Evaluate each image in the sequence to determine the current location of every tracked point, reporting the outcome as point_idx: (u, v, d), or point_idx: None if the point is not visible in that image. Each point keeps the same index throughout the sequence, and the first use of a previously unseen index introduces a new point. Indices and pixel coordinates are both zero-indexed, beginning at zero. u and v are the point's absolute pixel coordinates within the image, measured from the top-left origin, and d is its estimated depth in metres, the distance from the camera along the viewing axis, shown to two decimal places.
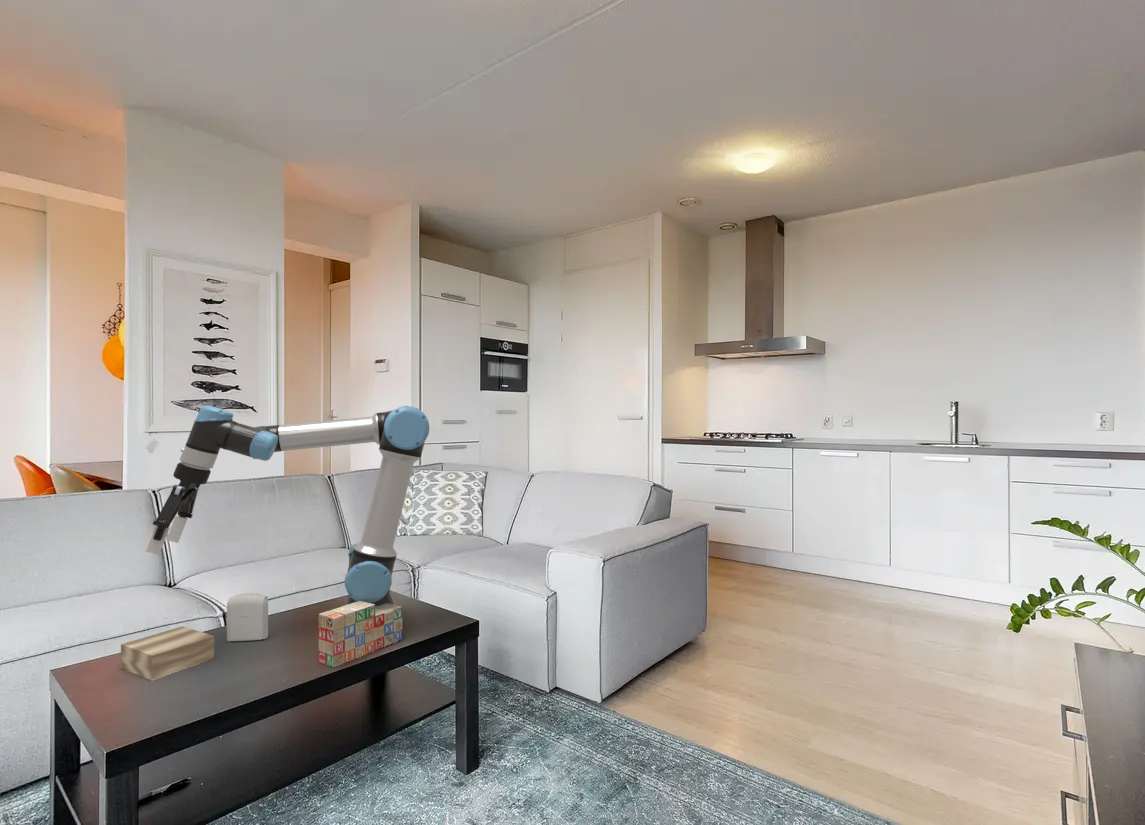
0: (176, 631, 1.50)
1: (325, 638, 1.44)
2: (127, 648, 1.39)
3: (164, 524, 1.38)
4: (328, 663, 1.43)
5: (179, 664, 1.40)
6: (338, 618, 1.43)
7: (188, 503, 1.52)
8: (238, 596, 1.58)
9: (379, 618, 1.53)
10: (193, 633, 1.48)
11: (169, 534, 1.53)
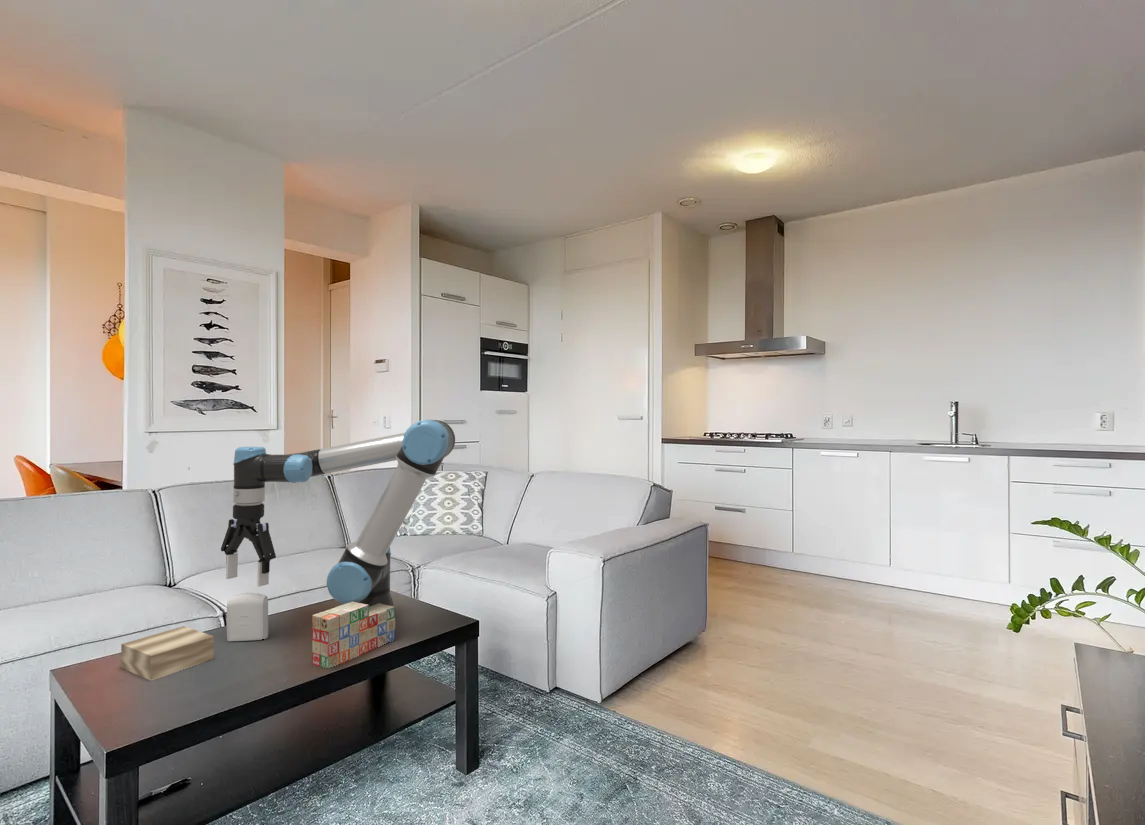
0: (177, 631, 1.50)
1: (319, 639, 1.43)
2: (127, 647, 1.40)
3: (274, 556, 1.56)
4: (322, 664, 1.42)
5: (179, 665, 1.39)
6: (333, 619, 1.42)
7: (242, 539, 1.62)
8: (238, 596, 1.58)
9: (373, 619, 1.53)
10: (193, 633, 1.48)
11: (228, 573, 1.62)
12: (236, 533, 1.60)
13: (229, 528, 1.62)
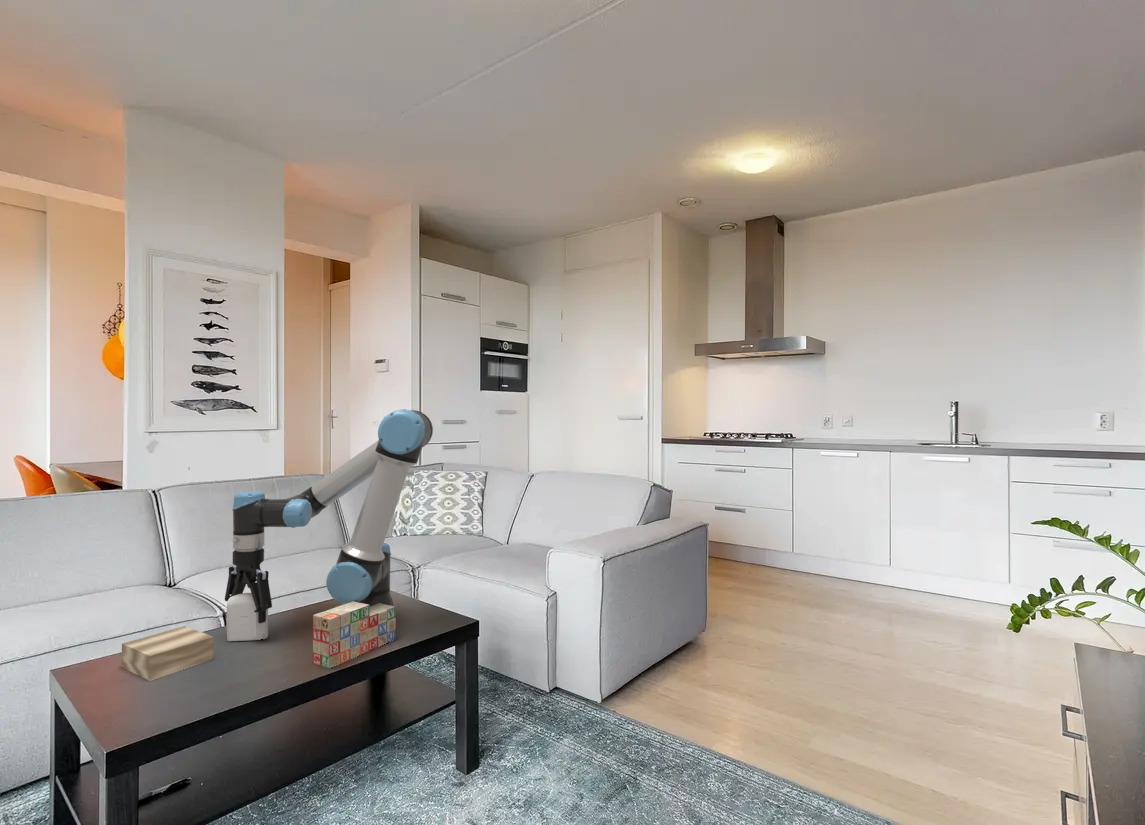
0: (177, 630, 1.50)
1: (319, 639, 1.43)
2: (127, 647, 1.40)
3: (270, 606, 1.56)
4: (323, 664, 1.42)
5: (178, 665, 1.39)
6: (334, 619, 1.42)
7: (244, 585, 1.62)
8: (238, 596, 1.58)
9: (373, 619, 1.53)
10: (193, 633, 1.48)
11: None
12: (237, 580, 1.59)
13: (230, 576, 1.61)
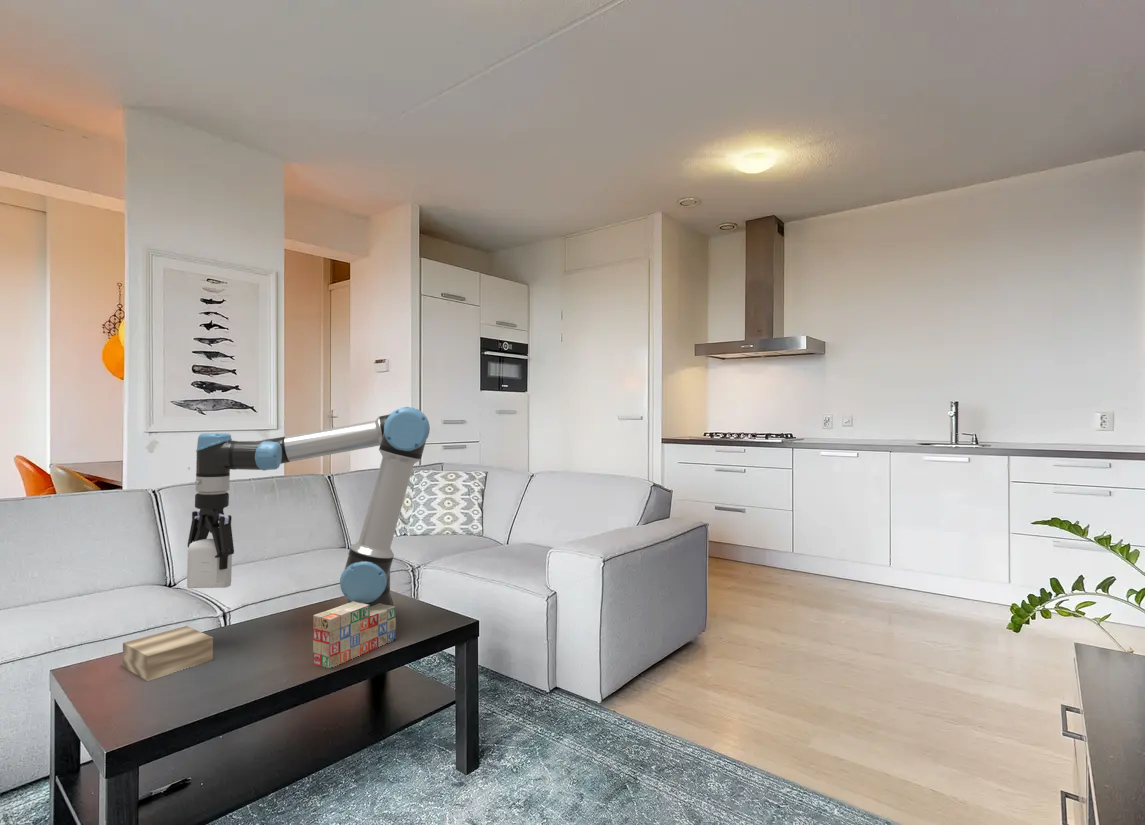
0: (179, 630, 1.50)
1: (320, 639, 1.43)
2: (128, 647, 1.40)
3: (232, 552, 1.49)
4: (323, 664, 1.42)
5: (176, 665, 1.39)
6: (334, 619, 1.42)
7: (208, 531, 1.55)
8: (200, 541, 1.51)
9: (374, 619, 1.53)
10: (193, 633, 1.48)
11: None
12: (199, 524, 1.52)
13: (193, 521, 1.54)
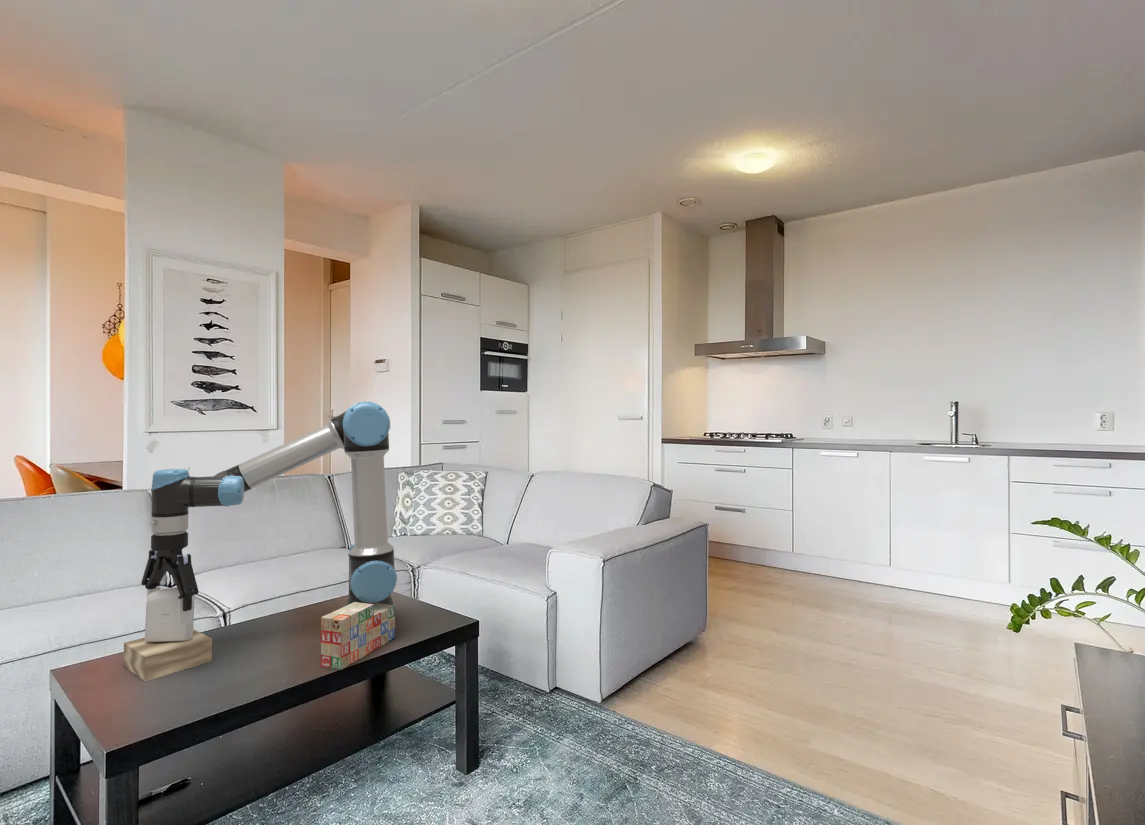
0: None
1: (329, 641, 1.42)
2: (128, 647, 1.40)
3: (196, 592, 1.40)
4: (334, 666, 1.41)
5: (174, 667, 1.39)
6: (345, 619, 1.42)
7: (164, 571, 1.47)
8: (160, 591, 1.43)
9: (377, 618, 1.54)
10: (194, 634, 1.48)
11: None
12: (156, 566, 1.44)
13: (149, 560, 1.46)
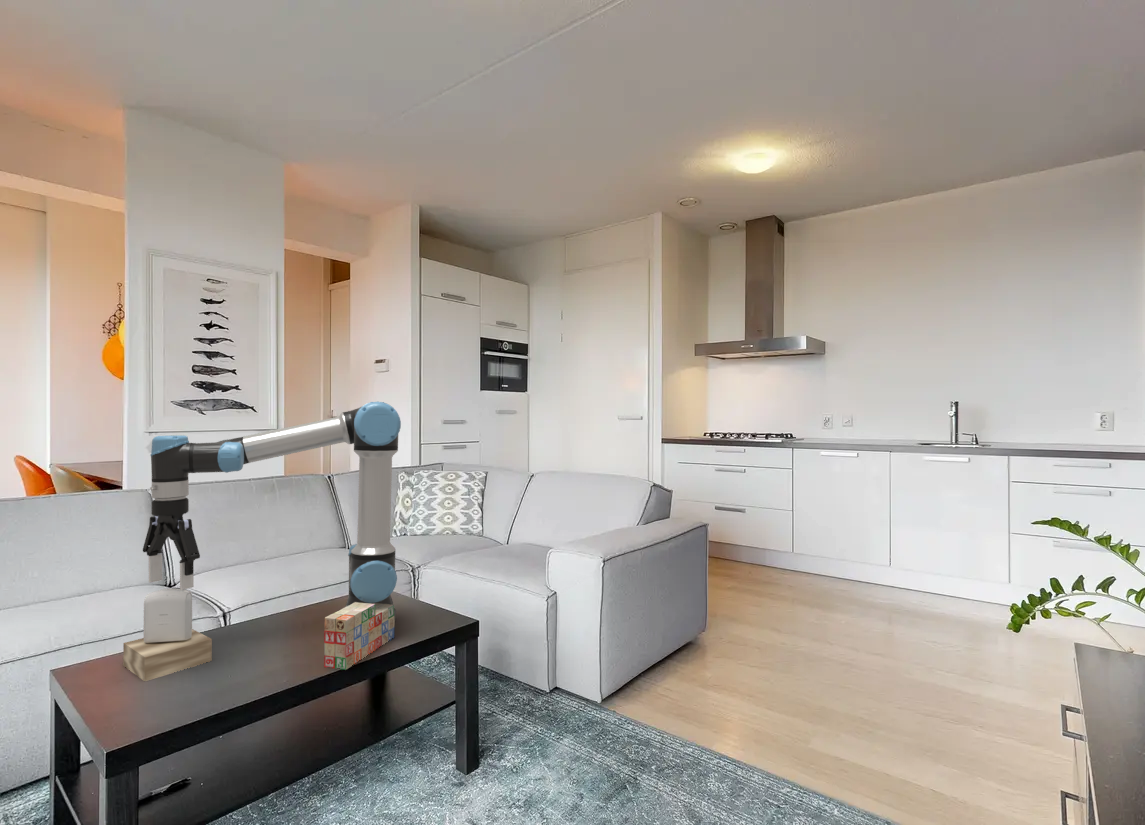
0: None
1: (333, 641, 1.42)
2: (127, 647, 1.40)
3: (198, 556, 1.40)
4: (338, 666, 1.41)
5: (174, 667, 1.39)
6: (349, 619, 1.42)
7: (166, 537, 1.47)
8: (157, 592, 1.43)
9: (378, 618, 1.54)
10: (193, 634, 1.48)
11: (151, 576, 1.46)
12: (157, 531, 1.44)
13: (150, 526, 1.46)
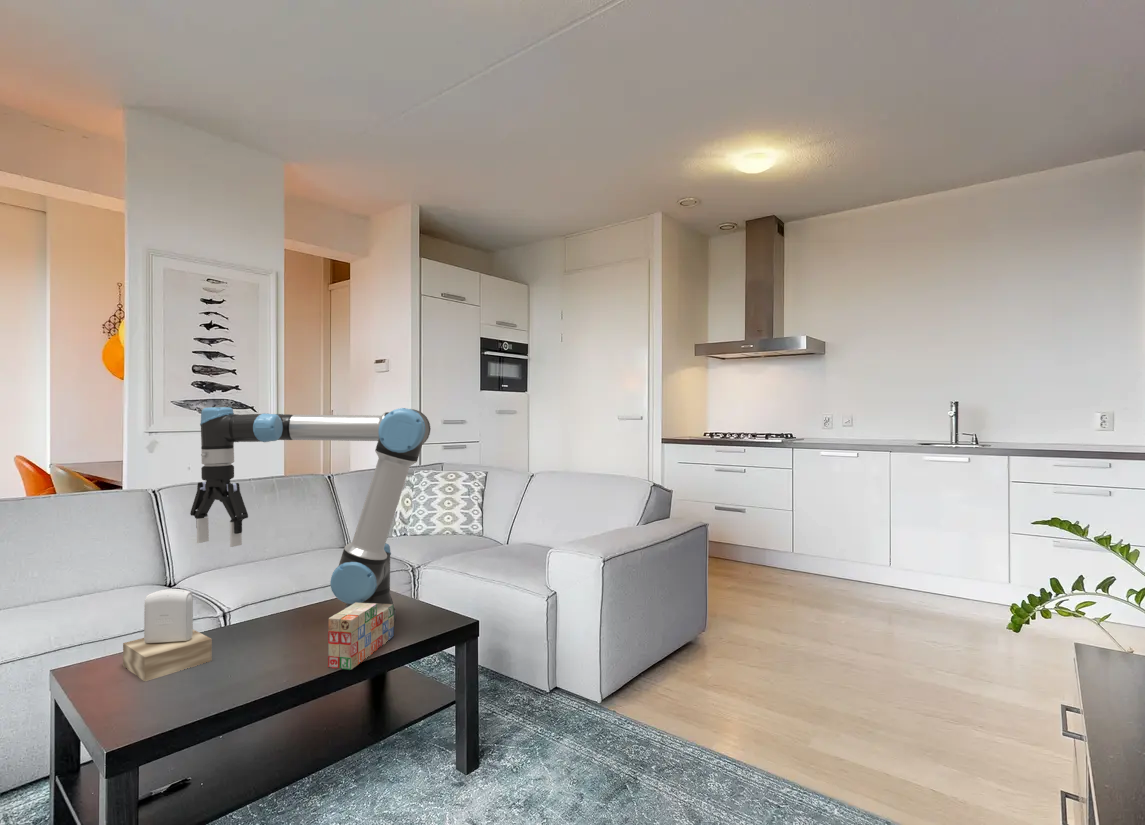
0: None
1: (337, 641, 1.41)
2: (127, 647, 1.40)
3: (246, 516, 1.54)
4: (342, 666, 1.41)
5: (174, 667, 1.39)
6: (354, 619, 1.42)
7: (212, 501, 1.60)
8: (158, 592, 1.43)
9: (379, 617, 1.54)
10: (193, 634, 1.48)
11: (199, 537, 1.59)
12: (206, 495, 1.57)
13: (198, 491, 1.59)
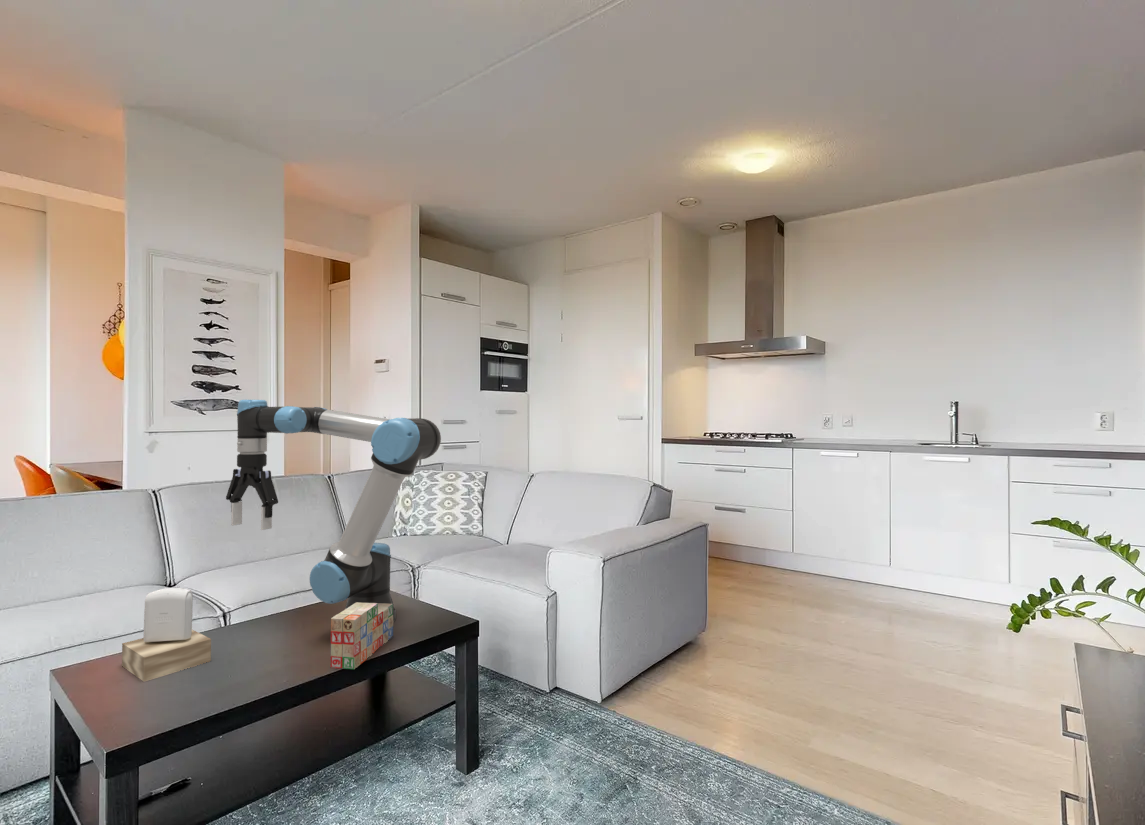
0: None
1: (340, 641, 1.41)
2: (126, 647, 1.40)
3: (276, 501, 1.65)
4: (345, 666, 1.41)
5: (173, 667, 1.38)
6: (357, 619, 1.42)
7: (246, 487, 1.72)
8: (158, 591, 1.43)
9: (380, 617, 1.54)
10: (192, 634, 1.48)
11: (233, 520, 1.71)
12: (240, 481, 1.69)
13: (233, 477, 1.71)
